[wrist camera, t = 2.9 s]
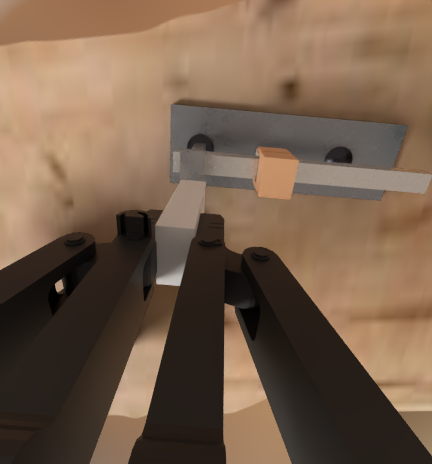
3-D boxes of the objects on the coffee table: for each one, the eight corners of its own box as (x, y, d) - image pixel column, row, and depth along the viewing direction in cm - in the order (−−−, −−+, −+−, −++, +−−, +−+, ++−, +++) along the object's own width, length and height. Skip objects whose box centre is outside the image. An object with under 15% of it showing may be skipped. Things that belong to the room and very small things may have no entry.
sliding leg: (247, 167, 36) (258, 197, 25) (251, 138, 34) (264, 155, 23) (269, 169, 36) (290, 200, 25) (274, 140, 35) (299, 159, 23)
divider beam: (185, 157, 36) (171, 177, 27) (185, 136, 35) (171, 148, 26) (375, 174, 37) (428, 199, 27) (382, 153, 35) (440, 172, 26)
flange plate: (171, 180, 39) (170, 182, 38) (172, 104, 35) (170, 104, 33) (376, 197, 39) (381, 200, 38) (402, 124, 35) (409, 125, 34)
